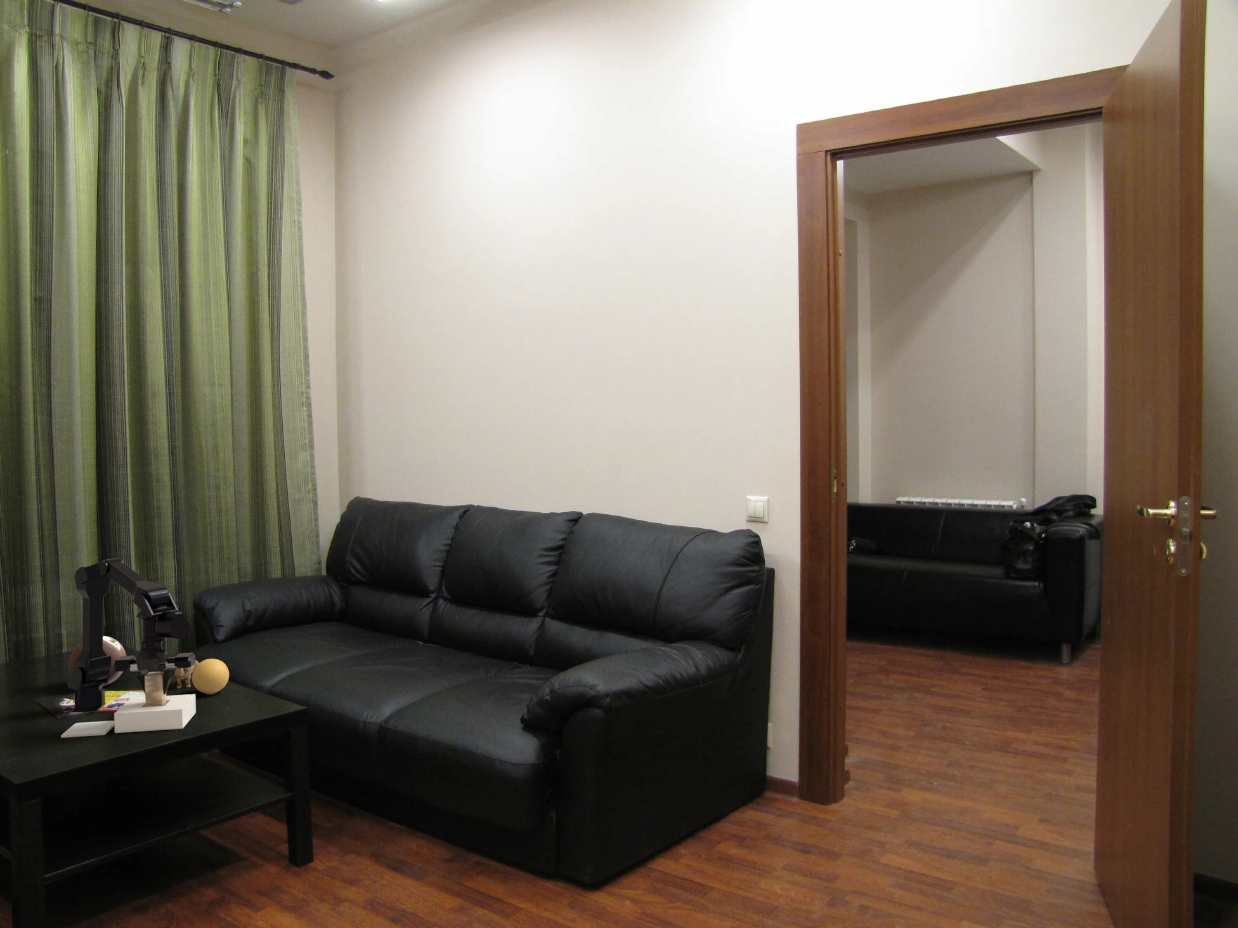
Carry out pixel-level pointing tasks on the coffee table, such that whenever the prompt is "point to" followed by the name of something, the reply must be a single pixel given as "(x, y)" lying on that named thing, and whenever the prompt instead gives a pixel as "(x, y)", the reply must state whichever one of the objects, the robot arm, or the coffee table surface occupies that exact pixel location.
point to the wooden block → (154, 689)
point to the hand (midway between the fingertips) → (155, 694)
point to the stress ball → (210, 676)
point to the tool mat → (89, 729)
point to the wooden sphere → (110, 648)
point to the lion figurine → (184, 675)
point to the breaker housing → (155, 714)
